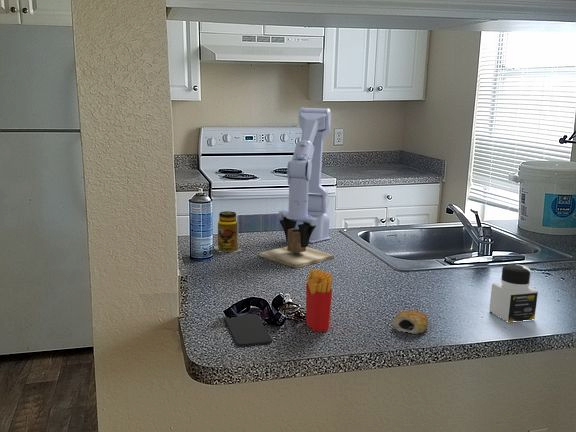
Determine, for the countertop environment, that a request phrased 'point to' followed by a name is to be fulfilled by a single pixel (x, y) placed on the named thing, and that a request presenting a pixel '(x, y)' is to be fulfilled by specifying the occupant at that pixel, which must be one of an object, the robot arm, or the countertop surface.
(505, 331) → the countertop surface
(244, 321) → the phone
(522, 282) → the medicine bottle
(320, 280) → the french fries
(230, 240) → the condiment
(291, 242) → the collar
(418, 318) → the pastry
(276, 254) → the post board
